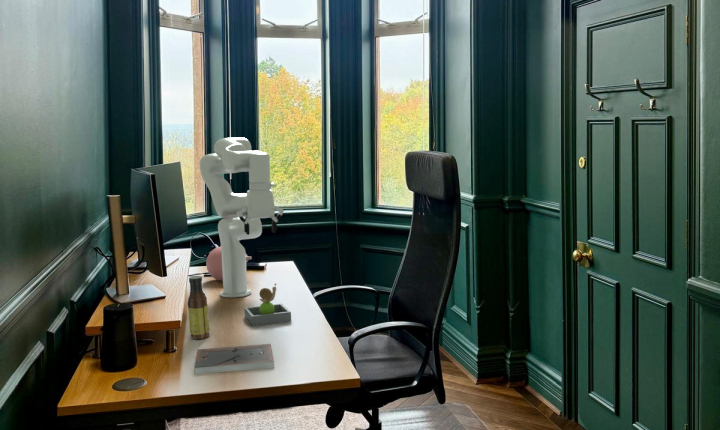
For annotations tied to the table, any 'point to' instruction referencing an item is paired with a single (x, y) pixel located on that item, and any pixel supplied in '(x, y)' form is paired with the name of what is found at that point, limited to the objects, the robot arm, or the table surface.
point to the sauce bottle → (198, 309)
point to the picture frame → (234, 358)
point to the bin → (267, 315)
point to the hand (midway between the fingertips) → (260, 233)
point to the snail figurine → (267, 301)
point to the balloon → (217, 263)
